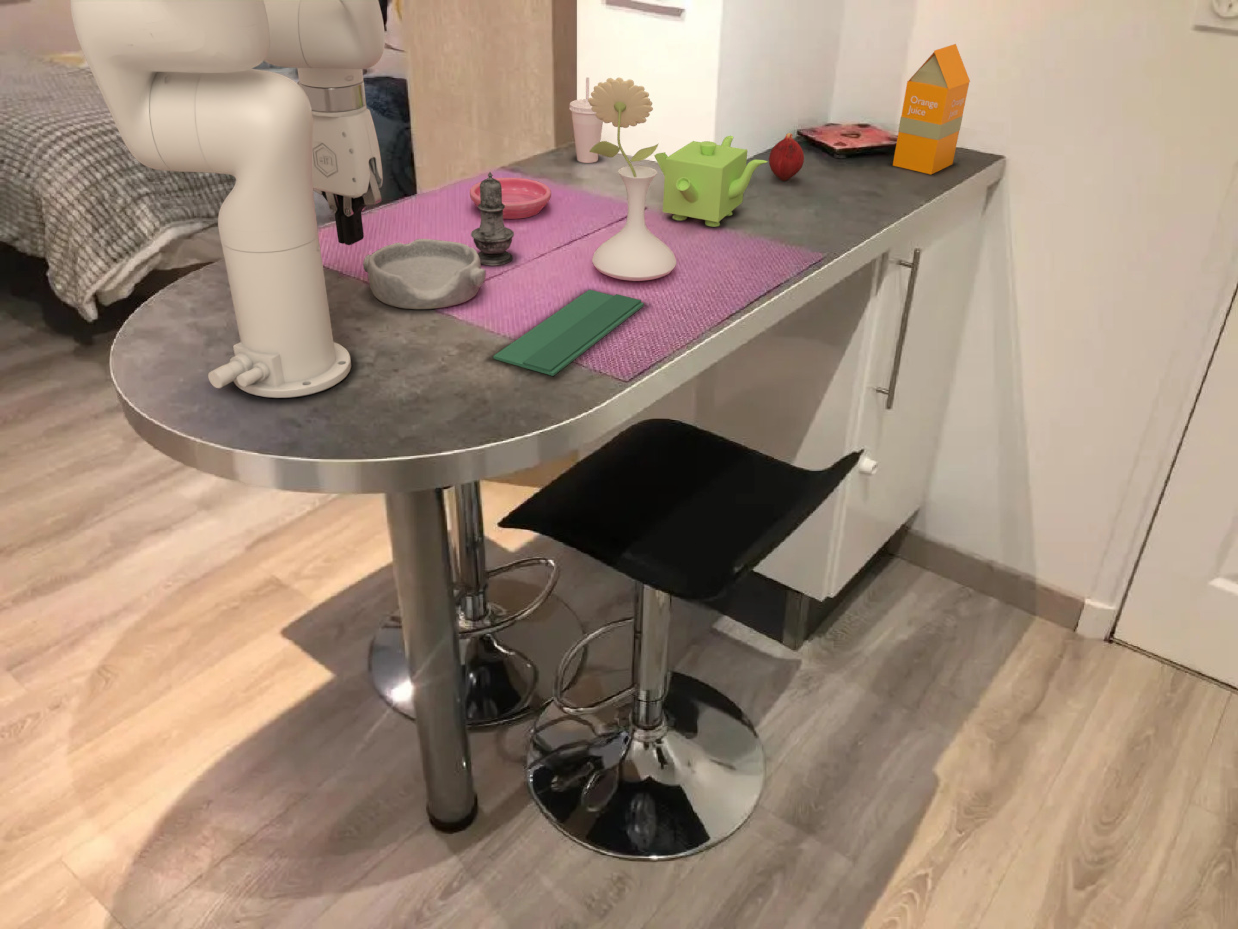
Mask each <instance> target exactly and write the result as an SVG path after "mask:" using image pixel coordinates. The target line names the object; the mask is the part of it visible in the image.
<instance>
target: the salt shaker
mask: <svg viewBox="0 0 1238 929" xmlns="http://www.w3.org/2000/svg"><path fill="white" fill-rule="evenodd" d="M493 176H494V175H493V173H491V171H490V172H489V173H488V174H487V177H486V178H485V179H483V180H482V182H481V181H480V182H481V183H480V200H481V204H479V205H478V206H477V208H478V209H479V212H480V224H479V227H477V228H474V229H473V230H472V231H471V232H470V236H471V238H472V239H473V243H474V245H475V248H477V249H478V250H479V252H477V253H478V255H479V258H480V263H481V265H484V266H503V265H506V264H509V263H511V262H512V261H513V259H514V257H513V255H512V254H511V253H510V252H508V249H509V248H510V247H511V244H512V242H513V238H514V236H515V232H514V231H513V230H512V229H511V228H509V227H506V225H505V222H504V219H503V209H504V208H505V205H504V204H502V188H501V183H500V182H499V181H498V180H496V179H494V178H495V177H493Z"/></svg>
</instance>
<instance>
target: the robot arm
mask: <svg viewBox="0 0 1238 929" xmlns="http://www.w3.org/2000/svg"><path fill="white" fill-rule="evenodd" d="M69 5H70V7H69V8H70V14H71V15H70V16H71V20H72V24H73V29H74V32H75V36H76V38H77V39H76V40H77V41H78V44H79V46H80V49H81V51H82V54H83V57H84V58H85V61H86V62H87V65H88V67H89V69H90V72H91V74H92V76H93V79H94V81H95V84H96V85H97V87H98V89H99V91H100V93H101V96H102V98H103V100H104V103H105V104H106V107H107V109H108V112H109V114H110V116H111V118H112V120H113V123H114V124H115V126H116V129H117V131H118V133H119V135H120V137H121V139H122V141H123V143H124V145H125V146H126V148H127V149H128V152H129V153H130V154H131V155H132V156H133V158H134V159H136V160H137V161H138V162H139V163H140V164H142V165H143V166H145V167H147V168H150V169H154V170H158V171H165V172H176V173H177V172H179V173H181V172H182V173H207V174H208V173H209V174H219V175H229V176H232V177H234V178H235V182H234V186H233V188H232V189H231V191H230V192H229V193H228V194H227V195H226V197H225V198H224V200H223V201H222V204H221V205H220V208H219V212H218V217H217V227H218V234H219V239H220V244H221V249H222V254H223V258H224V264H225V270H226V275H227V280H228V285H229V289H230V295H231V300H232V304H233V310H234V316H235V322H236V325H237V329H238V330H237V331H238V336H239V340H240V341H239V342H237V343H235V344H233V345H232V348H233V353H234V356H232V357H231V358H230V359H229V362H228V363H226V364H223V365H221V366H219V367H216V368H215V369H213V370H210V371H209V372H208V374H207V377H208V381H209V383H210V385H212V386H213V388H216V389H222V388H224V387H225V386H227V385H229V384H231V383H232V382H233V383H234V385H235V386H236V387H237V388H238V389H240V390H242V391H244V392H246V393H248V394H250V395H254V396H257V397H263V398H269V399H271V398H273V399H288V398H297V397H298V398H299V397H304V396H310V395H314V394H317V393H320V392H323V391H326V390H328V389H331V388H333V387H334V386H335V385H337V384H339V383H340V382H341V381H343V380H344V379H345V378H346V377H347V376H348V374H349V373H350V372H351V368H352V361H351V355H350V351H348V349H347V348H345V346H342V345H341V344H340V343H338V342H335V341H334V335H333V328H332V322H331V321H332V320H331V316H330V315H331V314H330V308H329V307H330V306H329V300H328V295H327V294H328V293H327V287H326V279H325V273H324V264H323V258H322V251H321V243H320V236H319V229H318V228H319V227H318V221H317V214H316V205H315V196H314V192H315V193H316V194H319V195H321V196H322V197H323V199H325V201H326V202H327V205H328V209H329V210H330V212H331V213H333V214H334V219H335V227H336V235H337V242H338V244H342V245H344V244H345V245H346V246H352V245H354V244H356V243H357V242H360V241H362V240H364V239H365V238H364V237H365V234H364V226H363V218H362V217H363V216H362V212H363V211H365V209H366V207H367V206H373V205H376V204H378V203H379V204H380V203H381V202H382V201H383V200H382V195H381V192H380V191H381V190H380V189H381V188H382V186H383V182H384V181H383V180H384V179H383V178H384V177H383V176H384V175H383V166H382V156H381V151H380V146H379V141H378V136H377V131H376V126H375V124H374V120H373V117H372V113H371V110H370V109H369V108H367V100H366V91H365V90H366V89H365V82H364V73H363V70H366V69H369V68H373V67H375V65H377V64H378V63H379V62H380V60H381V59H382V56H383V54H384V51H385V47H386V46H385V44H386V34H385V33H386V32H385V24H384V18H383V13H382V10H381V6H380V1H379V0H69ZM263 62H264V63H267V64H269V65H272V66H275V67H282V68H290V69H291V68H292V69H296V70H297V76H298V81H297V82H296V81H294V80H293V79H291V78H290V77H288V76H286V75H284V74H281V73H277V72H274V71H269V70H264V69H256V67H258V66H259V65H261V64H262V63H263Z"/></svg>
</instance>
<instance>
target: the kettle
mask: <svg viewBox="0 0 1238 929" xmlns="http://www.w3.org/2000/svg"><path fill="white" fill-rule="evenodd" d="M733 140H734V136H733V135H727V136H725V137H724V138H723V140H722V142H721V144H717V143H716V142H714V141H710V140H705V141H697V140H696V141H695V140H692V141H691V142H689V143H687V144H686V145H684V146H682V147H681V148H679V149H678V150H676V151H675V152H673V153H672V154H669V155H667V154H666V152H664V151H663V152H658V153H656V154H654V158H655V161H656V163H657V164H658V166H659V168H660V171H661V172H662V174H663V176H664V182H663V199H662V212H663V213H665V214H673V215H672V217H671V218H672V219H673V220H675V221H685V220H687V219H688V217H689V218H693V219H698V220H704V224H705V226H707V227H720V226H721V224H720V222H721V220H723V219H724V218H726V217H730V216H732V215H733V211H734V210H735V209H736V208H737V207H739V206H740V205H741V204H742V203H743V201H744V193H745V191H746V190H747V189H748V186H749V184H750V181H751V179H752V176H753V174H754V172H755V171H756V169H757V168H758V167H759V166H762V165H764V164H767V163H769V160H764V159H752V160H750V161H749V162H748V149H746V148H740V147H733V146H732V143H733ZM747 162H748V163H747Z"/></svg>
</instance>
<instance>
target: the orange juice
mask: <svg viewBox="0 0 1238 929" xmlns="http://www.w3.org/2000/svg"><path fill="white" fill-rule="evenodd" d="M970 82H971V80H970V77H969V74H968V72H967V70H966V67H965V64H964V62H963V59H962V56H961V54H960V51H959V48H958V45H957V44H956V43H953V44H951V45H947V46H945V47H941V48H938V49H935V50H933V52H932V53H931V55H930V56H929V57H928V58H927V59H926V60H925V61H924V63H922V65H921V66H920V67H919V68H918V69H917V70H916V72H914V74H913V75H912V76H911V77H910V78H909V80H907V82H906V87H905V92H904V98H903V102H902V103H903V104H902V110H901V115H900V119H899V125H898V132H897V139H896V143H895V144H896V145H895V150H894V155H893V161H892V166H893V167H897V168H901V169H906V170H910V171H915V172H918V173H923V174H927V175H933V174H935V173H937V172H940V171H941V170H943V169H945V168H948V167H949V166H952V165H953V164H954V160H955V153H956V149H957V145H958V140H959V134H960V131H961V126H962V121H963V116H964V110H965V105H966V101H967V95H968V91H969V87H970V86H969V85H970Z"/></svg>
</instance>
